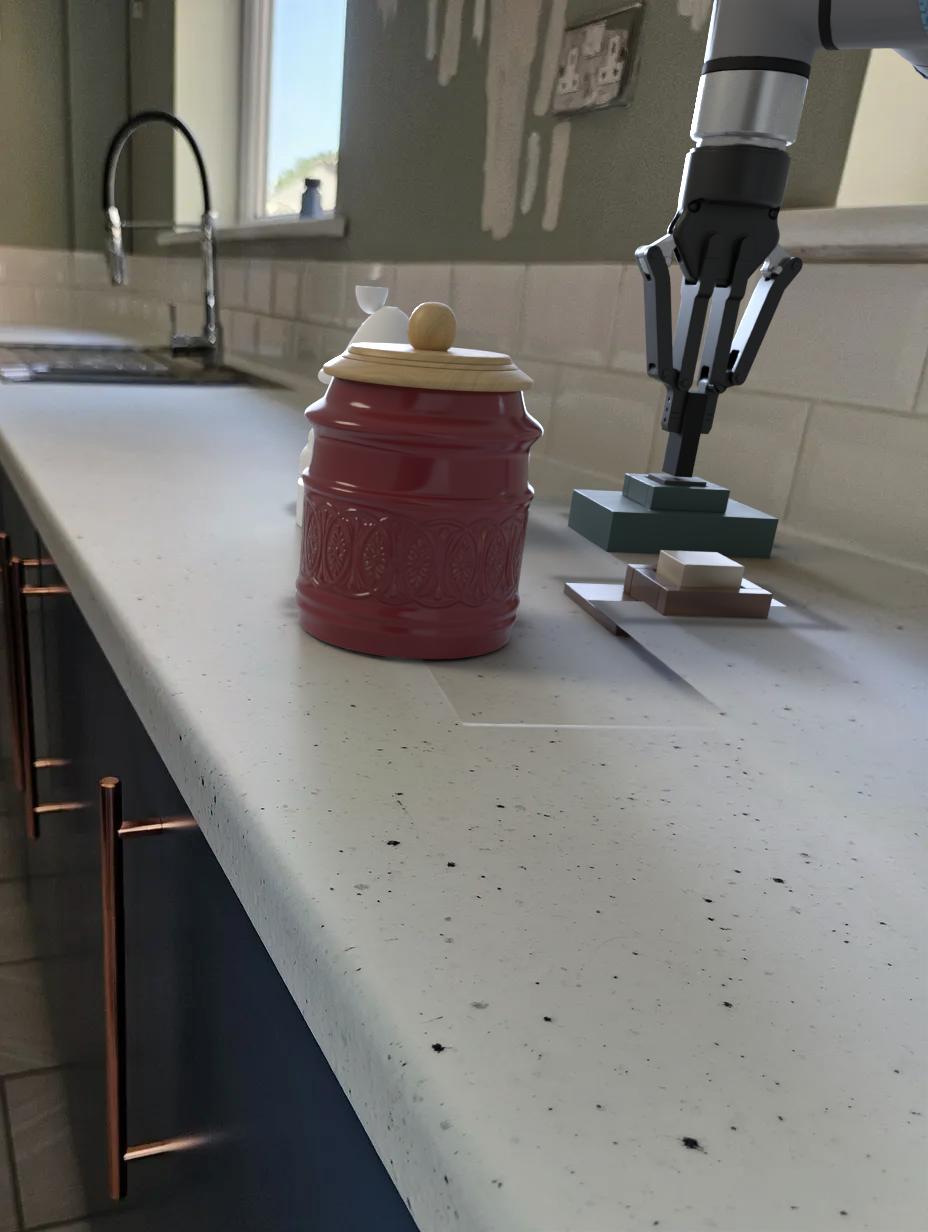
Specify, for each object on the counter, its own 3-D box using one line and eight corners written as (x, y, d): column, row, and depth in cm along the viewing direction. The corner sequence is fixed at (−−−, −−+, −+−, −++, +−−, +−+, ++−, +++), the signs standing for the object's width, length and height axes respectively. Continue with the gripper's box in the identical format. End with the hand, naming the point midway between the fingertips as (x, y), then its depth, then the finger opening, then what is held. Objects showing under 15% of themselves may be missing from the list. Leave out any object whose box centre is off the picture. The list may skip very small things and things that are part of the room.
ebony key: (684, 496, 96) (689, 474, 95) (702, 504, 93) (707, 482, 92) (644, 494, 95) (648, 472, 95) (661, 502, 92) (665, 480, 91)
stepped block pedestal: (754, 599, 79) (762, 563, 78) (829, 642, 70) (839, 602, 69) (563, 592, 77) (568, 556, 76) (614, 635, 68) (621, 595, 67)
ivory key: (712, 578, 75) (717, 552, 74) (739, 594, 71) (745, 566, 70) (655, 576, 74) (660, 549, 73) (679, 592, 70) (685, 564, 70)
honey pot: (263, 520, 92) (273, 279, 85) (361, 505, 102) (378, 286, 94) (386, 550, 85) (409, 290, 78) (480, 531, 94) (508, 296, 87)
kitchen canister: (494, 678, 59) (543, 312, 51) (261, 642, 62) (276, 292, 54) (528, 617, 70) (572, 310, 63) (330, 589, 73) (349, 293, 66)
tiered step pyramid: (717, 532, 101) (729, 475, 99) (770, 558, 92) (784, 496, 90) (567, 526, 99) (576, 467, 97) (606, 552, 90) (617, 488, 88)
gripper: (797, 159, 87) (730, 470, 97) (638, 144, 86) (586, 463, 96) (849, 151, 81) (771, 486, 91) (677, 134, 79) (617, 478, 89)
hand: (676, 474), depth 93 cm, fingers closed
